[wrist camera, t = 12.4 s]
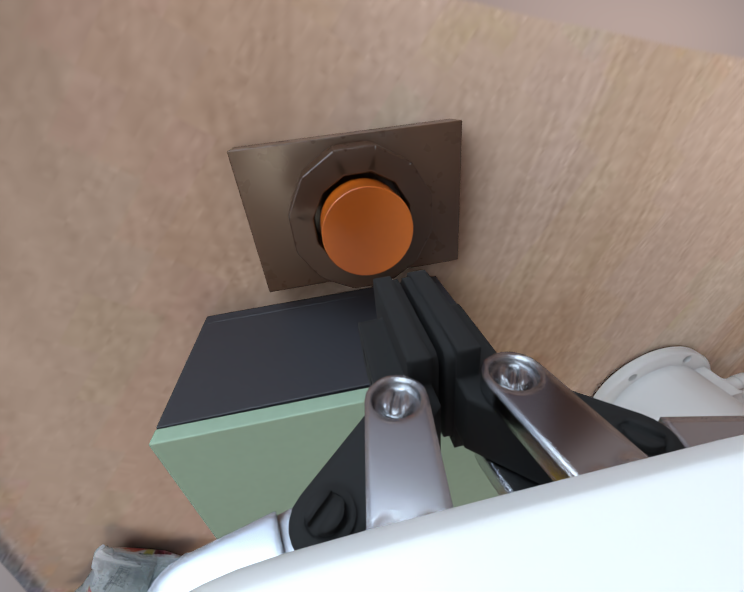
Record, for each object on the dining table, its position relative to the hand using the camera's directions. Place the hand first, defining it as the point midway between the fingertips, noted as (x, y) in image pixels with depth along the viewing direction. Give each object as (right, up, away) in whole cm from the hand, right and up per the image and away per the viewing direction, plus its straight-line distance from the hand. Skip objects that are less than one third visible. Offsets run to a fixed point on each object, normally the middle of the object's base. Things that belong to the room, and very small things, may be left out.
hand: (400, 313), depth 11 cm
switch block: (-2, +6, +9) cm, 11 cm away
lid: (-1, -10, +8) cm, 12 cm away
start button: (-1, +5, +6) cm, 8 cm away
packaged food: (-26, -27, +24) cm, 44 cm away
